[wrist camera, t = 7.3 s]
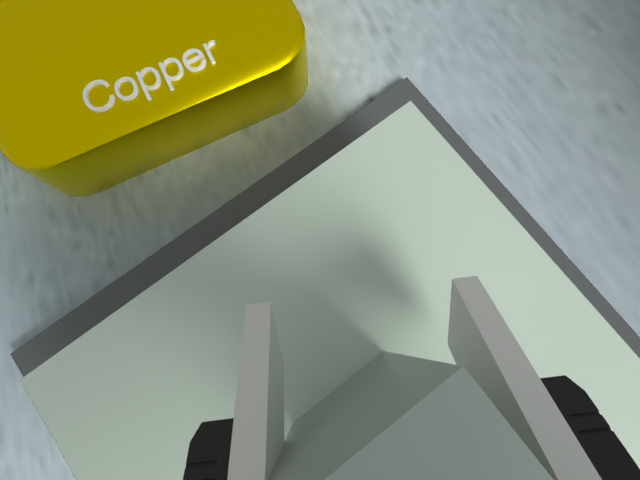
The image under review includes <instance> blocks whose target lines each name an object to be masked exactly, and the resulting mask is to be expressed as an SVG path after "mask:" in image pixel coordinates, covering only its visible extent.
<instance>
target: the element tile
mask: <svg viewBox="0 0 640 480" xmlns="http://www.w3.org/2000/svg"><path fill="white" fill-rule="evenodd" d="M307 85H308V76H307V58H306V40H305V27H304V24H303V21H302V18H301V16H300V14H299V12H298V10H297V8H296V7H295V5H294V3H293V1H292V0H0V150H1V152H2V153H3V155H4V156H5V157H6V158H7V159H9V160H10V161H11V162H12V163H13V164H14V165H15V166H17V167H18V168H20V169H22V170H24V171H25V172H27V173H29V174H30V175H32V176H34V177H36V178H37V179H39V180H41V181H43V182H44V183H46V184H48V185H50V186H51V187H53V188H55V189H56V190H58V191H60V192H63V193H65V194H68V195H71V196H84V195H90V194H94V193H97V192H100V191H103V190H105V189H107V188H109V187H112V186H114V185H116V184H119V183H121V182H123V181H125V180H128V179H130V178H132V177H134V176H137V175H139V174H141V173H144V172H146V171H148V170H150V169H153V168H155V167H157V166H159V165H162V164H164V163H166V162H169V161H171V160H173V159H175V158H178V157H180V156H182V155H184V154H187V153H189V152H191V151H194V150H196V149H198V148H200V147H203V146H205V145H207V144H209V143H212V142H214V141H216V140H219V139H221V138H223V137H225V136H228V135H230V134H232V133H234V132H237V131H239V130H241V129H244V128H246V127H248V126H250V125H253V124H255V123H257V122H259V121H262V120H264V119H266V118H269V117H271V116H273V115H275V114H278V113H280V112H282V111H284V110H286V109H288V108H289V107H291V106H293V105H294V104H295V103H296V102H297V101H298V100H299V99H300V98H301V97H302V96H303V95H304V92H305V90H306V87H307Z"/></svg>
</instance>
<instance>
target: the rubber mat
mask: <svg viewBox="0 0 640 480" xmlns="http://www.w3.org/2000/svg"><path fill="white" fill-rule="evenodd" d="M409 101H411V102H412V103H413V104H414V105H415V106H416V107H417V108H418V109H419V111H420V112H421V113H422V114H423V115H424V116H425V117H426V119H427V120H428V121H429V122H430V123H431V124H432V125H433V126H434V128H435V129H436V130H437V131H438V132H439V133H440V134H441V135H442V137H443V138H444V139H445V140H446V141H447V142H448V143H449V144H450V146H451V147H452V148H453V149H454V150H455V151H456V152H457V153H458V155H459V156H460V157H461V158H462V159H463V160H464V161H465V162H466V164H467V165H468V166H469V167H470V168H471V169H472V170H473V171H474V173H475V174H476V175H477V176H478V177H479V178H480V179H481V180H482V182H483V183H484V184H485V185H486V186H487V187H488V188H489V189H490V191H491V192H492V193H493V194H494V195H495V196H496V197H497V198H498V200H499V201H500V202H501V203H502V204H503V205H504V206H505V207H506V209H507V210H508V211H509V212H510V213H511V214H512V215H513V216H514V218H515V219H516V220H517V221H518V222H519V223H520V224H521V225H522V227H523V228H524V229H525V230H526V231H527V232H528V233H529V234H530V236H531V237H532V238H533V239H534V240H535V241H536V242H537V243H538V245H539V246H540V247H541V248H542V249H543V250H544V251H545V252H546V254H547V255H548V256H549V257H550V258H551V259H552V260H553V261H554V263H555V264H556V265H557V266H558V267H559V268H560V269H561V270H562V272H563V273H564V274H565V275H566V276H567V277H568V278H569V279H570V281H571V282H572V283H573V284H574V285H575V286H576V287H577V289H578V290H579V291H580V292H581V293H582V294H583V295H584V296H585V298H586V299H587V300H588V301H589V302H590V303H591V304H592V305H593V307H594V308H595V309H596V310H597V311H598V312H599V313H600V314H601V316H602V317H603V318H604V319H605V320H606V321H607V322H608V323H609V325H610V326H611V327H612V328H613V329H614V330H615V331H616V332H617V334H618V335H619V336H620V337H621V338H622V339H623V340H624V341H625V343H626V344H627V345H628V346H629V347H630V348H631V349H632V350H633V352H634V353H635V354H636V355H637V356H638V357H639V358H640V337H639V336H638V335H637V334H636V333H635V332H634V331H633V329H632V328H631V327H630V326H629V325H628V324H627V323H626V322H625V321H624V319H623V318H622V317H621V316H620V315H619V314H618V313H617V312H616V311H615V309H614V308H613V307H612V306H611V305H610V304H609V303H608V302H607V300H606V299H605V298H604V297H603V296H602V295H601V294H600V293H599V292H598V290H597V289H596V288H595V287H594V286H593V285H592V284H591V283H590V281H589V280H588V279H587V278H586V277H585V276H584V275H583V274H582V273H581V271H580V270H579V269H578V268H577V267H576V266H575V265H574V264H573V262H572V261H571V260H570V259H569V258H568V257H567V256H566V255H565V254H564V252H563V251H562V250H561V249H560V248H559V247H558V246H557V245H556V243H555V242H554V241H553V240H552V239H551V238H550V237H549V236H548V235H547V233H546V232H545V231H544V230H543V229H542V228H541V227H540V226H539V224H538V223H537V222H536V221H535V220H534V219H533V218H532V217H531V216H530V214H529V213H528V212H527V211H526V210H525V209H524V208H523V207H522V205H521V204H520V203H519V202H518V201H517V200H516V199H515V198H514V197H513V195H512V194H511V193H510V192H509V191H508V190H507V189H506V188H505V187H504V185H503V184H502V183H501V182H500V181H499V180H498V179H497V178H496V176H495V175H494V174H493V173H492V172H491V171H490V170H489V169H488V168H487V166H486V165H485V164H484V163H483V162H482V161H481V160H480V159H479V157H478V156H477V155H476V154H475V153H474V152H473V151H472V150H471V149H470V147H469V146H468V145H467V144H466V143H465V142H464V141H463V140H462V138H461V137H460V136H459V135H458V134H457V133H456V132H455V131H454V130H453V128H452V127H451V126H450V125H449V124H448V123H447V122H446V121H445V119H444V118H443V117H442V116H441V115H440V114H439V113H438V112H437V111H436V109H435V108H434V107H433V106H432V105H431V104H430V103H429V102H428V100H427V99H426V98H425V97H424V96H423V95H422V94H421V93H420V92H419V90H418V89H417V88H416V87H415V86H414V85H413V84H412V83H411V81H410V80H409V79H408V78H405V79H404V80H403V81H401V82H400V83H398V84H397V85H395V86H394V87H393V88H391V89H390V90H388V91H387V92H385V93H384V94H383V95H381V96H380V97H378V98H377V99H375V100H374V101H373V102H371V103H370V104H368V105H367V106H365V107H364V108H363V109H361V110H360V111H358V112H357V113H355V114H354V115H352V116H351V117H350V118H348V119H347V120H345V121H344V122H342V123H341V124H340V125H338V126H337V127H335V128H334V129H332V130H331V131H330V132H328V133H327V134H325V135H324V136H322V137H321V138H320V139H318V140H317V141H315V142H314V143H312V144H311V145H309V146H308V147H307V148H305V149H304V150H302V151H301V152H299V153H298V154H297V155H295V156H294V157H292V158H291V159H289V160H288V161H287V162H285V163H284V164H282V165H281V166H279V167H278V168H277V169H275V170H274V171H272V172H271V173H269V174H268V175H266V176H265V177H264V178H262V179H261V180H259V181H258V182H256V183H255V184H254V185H252V186H251V187H249V188H248V189H246V190H245V191H244V192H242V193H241V194H239V195H238V196H236V197H235V198H234V199H232V200H231V201H229V202H228V203H226V204H225V205H223V206H222V207H221V208H219V209H218V210H216V211H215V212H213V213H212V214H211V215H209V216H208V217H206V218H205V219H203V220H202V221H201V222H199V223H198V224H196V225H195V226H193V227H192V228H191V229H189V230H188V231H186V232H185V233H183V234H182V235H180V236H179V237H178V238H176V239H175V240H173V241H172V242H170V243H169V244H168V245H166V246H165V247H163V248H162V249H160V250H159V251H158V252H156V253H155V254H153V255H152V256H150V257H149V258H148V259H146V260H145V261H143V262H142V263H140V264H139V265H137V266H136V267H135V268H133V269H132V270H130V271H129V272H127V273H126V274H125V275H123V276H122V277H120V278H119V279H117V280H116V281H115V282H113V283H112V284H110V285H109V286H107V287H106V288H105V289H103V290H102V291H100V292H99V293H97V294H96V295H94V296H93V297H92V298H90V299H89V300H87V301H86V302H84V303H83V304H82V305H80V306H79V307H77V308H76V309H74V310H73V311H72V312H70V313H69V314H67V315H66V316H64V317H63V318H62V319H60V320H59V321H57V322H56V323H54V324H53V325H51V326H50V327H49V328H47V329H46V330H44V331H43V332H41V333H40V334H39V335H37V336H36V337H34V338H33V339H31V340H30V341H29V342H27V343H26V344H24V345H23V346H21V347H20V348H19V349H17V350H16V351H14V352H13V353H11V356H12V358H13V359H14V361H15V363H16V364H17V366H18V368H19V370H20V371H21V373H22V375H23V377H25V376H26V375H27V374H29V373H30V372H32V371H33V370H34V369H36V368H37V367H39V366H40V365H41V364H43V363H44V362H46V361H47V360H48V359H50V358H51V357H53V356H54V355H55V354H57V353H58V352H60V351H61V350H62V349H64V348H65V347H67V346H68V345H69V344H71V343H72V342H74V341H75V340H76V339H78V338H79V337H81V336H82V335H83V334H85V333H86V332H88V331H89V330H90V329H92V328H93V327H95V326H96V325H97V324H99V323H100V322H102V321H103V320H104V319H106V318H107V317H108V316H110V315H111V314H113V313H114V312H115V311H117V310H118V309H120V308H121V307H122V306H124V305H125V304H127V303H128V302H129V301H131V300H132V299H134V298H135V297H136V296H138V295H139V294H141V293H142V292H143V291H145V290H146V289H148V288H149V287H150V286H152V285H153V284H155V283H156V282H157V281H159V280H160V279H162V278H163V277H164V276H166V275H167V274H169V273H170V272H171V271H173V270H174V269H176V268H177V267H178V266H180V265H181V264H183V263H184V262H185V261H187V260H188V259H190V258H191V257H192V256H194V255H195V254H197V253H198V252H199V251H201V250H202V249H204V248H205V247H206V246H208V245H209V244H211V243H212V242H213V241H215V240H216V239H218V238H219V237H220V236H222V235H223V234H225V233H226V232H227V231H229V230H230V229H232V228H233V227H234V226H236V225H237V224H239V223H240V222H241V221H243V220H244V219H246V218H247V217H248V216H250V215H251V214H253V213H254V212H255V211H257V210H258V209H260V208H261V207H262V206H264V205H265V204H267V203H268V202H269V201H271V200H272V199H274V198H275V197H276V196H278V195H279V194H281V193H282V192H283V191H285V190H286V189H288V188H289V187H290V186H292V185H293V184H295V183H296V182H297V181H299V180H300V179H302V178H303V177H304V176H306V175H307V174H309V173H310V172H311V171H313V170H314V169H316V168H317V167H318V166H320V165H321V164H323V163H324V162H325V161H327V160H328V159H330V158H331V157H332V156H334V155H335V154H337V153H338V152H339V151H341V150H342V149H344V148H345V147H346V146H348V145H349V144H351V143H352V142H353V141H355V140H356V139H358V138H359V137H360V136H362V135H363V134H365V133H366V132H367V131H369V130H370V129H372V128H373V127H374V126H376V125H377V124H379V123H380V122H381V121H383V120H384V119H386V118H387V117H388V116H390V115H391V114H393V113H394V112H395V111H397V110H398V109H400V108H401V107H402V106H404V105H405V104H407V103H408V102H409Z"/></svg>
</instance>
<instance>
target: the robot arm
mask: <svg viewBox="0 0 640 480" xmlns="http://www.w3.org/2000/svg"><path fill="white" fill-rule="evenodd" d="M447 344H448V346H449V349H450V351H451V353H452V356H453V358H454V360H455V363H456V365H459V366H464V368H465V369H466V370H467V371H468V373H469V374H470V375H471V377H472V378H473V379H474V380H475V382H476V383H477V384H478V385H479V387H480V388H481V389H482V390H483V392H484V393H485V394H486V395H487V397H488V398H489V399H490V400H491V402H492V403H493V404H494V405H495V407H496V408H497V409H498V410H499V412H500V413H501V414H502V415H503V417H504V418H505V419H506V420H507V422H508V423H509V424H510V425H511V427H512V428H513V429H514V431H515V432H516V433H517V434H518V436H519V437H520V438H521V439H522V441H523V442H524V443H525V444H526V446H527V447H528V448H529V449H530V451H531V452H532V453H533V454H534V456H535V457H536V458H537V459H538V461H539V462H540V463H541V464H542V466H543V467H544V468H545V469H546V471H547V472H548V473H549V474H550V476H551V477H552V478H553V480H640V468H639V467H638V466H637V464H636V463H635V461H634V460H633V458H632V457H631V456H630V454H629V453H628V451H627V450H626V448H625V447H624V446H623V444H622V443H621V441H620V440H619V438H618V437H617V436H616V434H615V433H614V431H611V429H610V426H609V424H608V423H607V421H606V420H605V418H604V417H603V416H602V415H600V413H599V410H598V408H597V407H596V406H595V404H594V403H593V401H592V400H591V398H590V397H589V396H588V394H587V393H586V391H585V390H583V389H582V388H581V387H580V386H578V385H577V384H576V383H575V382H573V381H572V380H571V379H570V378H568V377H567V376H566V375H563V376H555V377H547V378H539V376H538V374H537V373H536V371H535V369H534V368H533V366H532V365H531V363H530V361H529V360H528V358H527V356H526V355H525V353H524V352H523V350H522V348H521V347H520V345H519V343H518V342H517V340H516V338H515V337H514V335H513V334H512V332H511V330H510V329H509V327H508V325H507V324H506V322H505V320H504V319H503V317H502V316H501V314H500V312H499V311H498V309H497V307H496V306H495V304H494V303H493V301H492V299H491V298H490V296H489V294H488V293H487V291H486V289H485V288H484V286H483V285H482V283H481V281H480V280H479V278H478V276H470V277H462V278H454V279H452V286H451V300H450V314H449V329H448V343H447ZM283 445H284V362H283V357H282V352H281V347H280V342H279V338H278V333H277V328H276V323H275V318H274V314H273V309H272V304H271V301H270V302H262V303H254V304H246V307H245V317H244V326H243V336H242V345H241V354H240V364H239V373H238V383H237V392H236V401H235V411H234V418H230V419H222V420H214V421H206V422H202V423H201V424H200V426H199V428H198V429H197V431H196V433H195V434H194V436H193V438H192V439H191V441H190V444H189V450H188V455H187V460H186V468H185V470H184V476H183V480H268V478H269V476H270V474H271V472H272V469H273V467H274V465H275V463H276V460H277V458H278V456H279V454H280V452H281V449H282V447H283Z"/></svg>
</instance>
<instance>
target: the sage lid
mask: <svg viewBox="0 0 640 480" xmlns="http://www.w3.org/2000/svg"><path fill="white" fill-rule="evenodd" d="M470 276H478V278H479V280H480V281H481V283H482V285H483V286H484V288H485V289H486V291H487V293H488V294H489V296H490V298H491V299H492V301H493V303H494V304H495V306H496V307H497V309H498V311H499V312H500V314H501V316H502V317H503V319H504V320H505V322H506V324H507V325H508V327H509V329H510V330H511V332H512V334H513V335H514V337H515V338H516V340H517V342H518V343H519V345H520V347H521V348H522V350H523V352H524V353H525V355H526V356H527V358H528V360H529V361H530V363H531V365H532V366H533V368H534V369H535V371H536V373H537V374H538V376H539V378H547V377H555V376H563V375H566V376H567V377H568V378H570V379H571V380H572V381H573V382H575V383H576V384H577V385H578V386H580V387H581V388H582V389H583V390H585V391H586V393H587V394H588V396H589V397H590V398H591V400H592V401H593V403H594V404H595V406H596V407H597V408H598V410H599V413H600V415H602V416H603V417H604V418H605V420H606V421H607V423H608V424H609V426H610V429H611V431H614V433H615V434H616V436H617V437H618V438H619V440H620V441H621V443H622V444H623V446H624V447H625V448H626V450H627V451H628V453H629V454H630V456H631V457H632V458H633V460H634V461H635V463H636V464H637V466H638V467H639V468H640V358H639V357H638V356H637V355H636V354H635V353H634V352H633V350H632V349H631V348H630V347H629V346H628V345H627V344H626V343H625V341H624V340H623V339H622V338H621V337H620V336H619V335H618V334H617V332H616V331H615V330H614V329H613V328H612V327H611V326H610V325H609V323H608V322H607V321H606V320H605V319H604V318H603V317H602V316H601V314H600V313H599V312H598V311H597V310H596V309H595V308H594V307H593V305H592V304H591V303H590V302H589V301H588V300H587V299H586V298H585V296H584V295H583V294H582V293H581V292H580V291H579V290H578V289H577V287H576V286H575V285H574V284H573V283H572V282H571V281H570V279H569V278H568V277H567V276H566V275H565V274H564V273H563V272H562V270H561V269H560V268H559V267H558V266H557V265H556V264H555V263H554V261H553V260H552V259H551V258H550V257H549V256H548V255H547V254H546V252H545V251H544V250H543V249H542V248H541V247H540V246H539V245H538V243H537V242H536V241H535V240H534V239H533V238H532V237H531V236H530V234H529V233H528V232H527V231H526V230H525V229H524V228H523V227H522V225H521V224H520V223H519V222H518V221H517V220H516V219H515V218H514V216H513V215H512V214H511V213H510V212H509V211H508V210H507V209H506V207H505V206H504V205H503V204H502V203H501V202H500V201H499V200H498V198H497V197H496V196H495V195H494V194H493V193H492V192H491V191H490V189H489V188H488V187H487V186H486V185H485V184H484V183H483V182H482V180H481V179H480V178H479V177H478V176H477V175H476V174H475V173H474V171H473V170H472V169H471V168H470V167H469V166H468V165H467V164H466V162H465V161H464V160H463V159H462V158H461V157H460V156H459V155H458V153H457V152H456V151H455V150H454V149H453V148H452V147H451V146H450V144H449V143H448V142H447V141H446V140H445V139H444V138H443V137H442V135H441V134H440V133H439V132H438V131H437V130H436V129H435V128H434V126H433V125H432V124H431V123H430V122H429V121H428V120H427V119H426V117H425V116H424V115H423V114H422V113H421V112H420V111H419V109H418V108H417V107H416V106H415V105H414V104H413V103H412V102H411V101H409V102H408V103H407V104H405V105H404V106H402V107H401V108H400V109H398V110H397V111H395V112H394V113H393V114H391V115H390V116H388V117H387V118H386V119H384V120H383V121H381V122H380V123H379V124H377V125H376V126H374V127H373V128H372V129H370V130H369V131H367V132H366V133H365V134H363V135H362V136H360V137H359V138H358V139H356V140H355V141H353V142H352V143H351V144H349V145H348V146H346V147H345V148H344V149H342V150H341V151H339V152H338V153H337V154H335V155H334V156H332V157H331V158H330V159H328V160H327V161H325V162H324V163H323V164H321V165H320V166H318V167H317V168H316V169H314V170H313V171H311V172H310V173H309V174H307V175H306V176H304V177H303V178H302V179H300V180H299V181H297V182H296V183H295V184H293V185H292V186H290V187H289V188H288V189H286V190H285V191H283V192H282V193H281V194H279V195H278V196H276V197H275V198H274V199H272V200H271V201H269V202H268V203H267V204H265V205H264V206H262V207H261V208H260V209H258V210H257V211H255V212H254V213H253V214H251V215H250V216H248V217H247V218H246V219H244V220H243V221H241V222H240V223H239V224H237V225H236V226H234V227H233V228H232V229H230V230H229V231H227V232H226V233H225V234H223V235H222V236H220V237H219V238H218V239H216V240H215V241H213V242H212V243H211V244H209V245H208V246H206V247H205V248H204V249H202V250H201V251H199V252H198V253H197V254H195V255H194V256H192V257H191V258H190V259H188V260H187V261H185V262H184V263H183V264H181V265H180V266H178V267H177V268H176V269H174V270H173V271H171V272H170V273H169V274H167V275H166V276H164V277H163V278H162V279H160V280H159V281H157V282H156V283H155V284H153V285H152V286H150V287H149V288H148V289H146V290H145V291H143V292H142V293H141V294H139V295H138V296H136V297H135V298H134V299H132V300H131V301H129V302H128V303H127V304H125V305H124V306H122V307H121V308H120V309H118V310H117V311H115V312H114V313H113V314H111V315H110V316H108V317H107V318H106V319H104V320H103V321H102V322H100V323H99V324H97V325H96V326H95V327H93V328H92V329H90V330H89V331H88V332H86V333H85V334H83V335H82V336H81V337H79V338H78V339H76V340H75V341H74V342H72V343H71V344H69V345H68V346H67V347H65V348H64V349H62V350H61V351H60V352H58V353H57V354H55V355H54V356H53V357H51V358H50V359H48V360H47V361H46V362H44V363H43V364H41V365H40V366H39V367H37V368H36V369H34V370H33V371H32V372H30V373H29V374H27V375H26V376H25V377H23V378H22V379H20V381H21V383H22V385H23V387H24V388H25V390H26V392H27V394H28V395H29V397H30V399H31V401H32V402H33V404H34V406H35V408H36V409H37V411H38V413H39V415H40V416H41V418H42V420H43V422H44V424H45V425H46V427H47V429H48V431H49V432H50V434H51V436H52V438H53V439H54V441H55V443H56V445H57V446H58V448H59V450H60V452H61V453H62V455H63V457H64V459H65V460H66V462H67V464H68V466H69V467H70V469H71V471H72V473H73V475H74V476H75V478H76V480H183V476H184V470H185V468H186V460H187V455H188V450H189V444H190V441H191V439H192V438H193V436H194V434H195V433H196V431H197V429H198V428H199V426H200V424H201V423H202V422H206V421H214V420H222V419H230V418H234V411H235V401H236V392H237V383H238V373H239V364H240V354H241V345H242V336H243V326H244V317H245V307H246V304H254V303H262V302H270V301H271V304H272V309H273V314H274V318H275V323H276V328H277V333H278V338H279V342H280V347H281V352H282V357H283V362H284V445H283V447H282V449H281V452H280V454H279V456H278V458H277V460H276V463H275V465H274V467H273V469H272V472H271V474H270V476H269V478H268V480H553V478H552V477H551V476H550V474H549V473H548V472H547V471H546V469H545V468H544V467H543V466H542V464H541V463H540V462H539V461H538V459H537V458H536V457H535V456H534V454H533V453H532V452H531V451H530V449H529V448H528V447H527V446H526V444H525V443H524V442H523V441H522V439H521V438H520V437H519V436H518V434H517V433H516V432H515V431H514V429H513V428H512V427H511V425H510V424H509V423H508V422H507V420H506V419H505V418H504V417H503V415H502V414H501V413H500V412H499V410H498V409H497V408H496V407H495V405H494V404H493V403H492V402H491V400H490V399H489V398H488V397H487V395H486V394H485V393H484V392H483V390H482V389H481V388H480V387H479V385H478V384H477V383H476V382H475V380H474V379H473V378H472V377H471V375H470V374H469V373H468V371H467V370H466V369H465V368H464V366H459V365H456V363H455V360H454V358H453V356H452V353H451V351H450V349H449V346H448V344H447V343H448V329H449V314H450V300H451V286H452V279H454V278H462V277H470Z"/></svg>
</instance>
